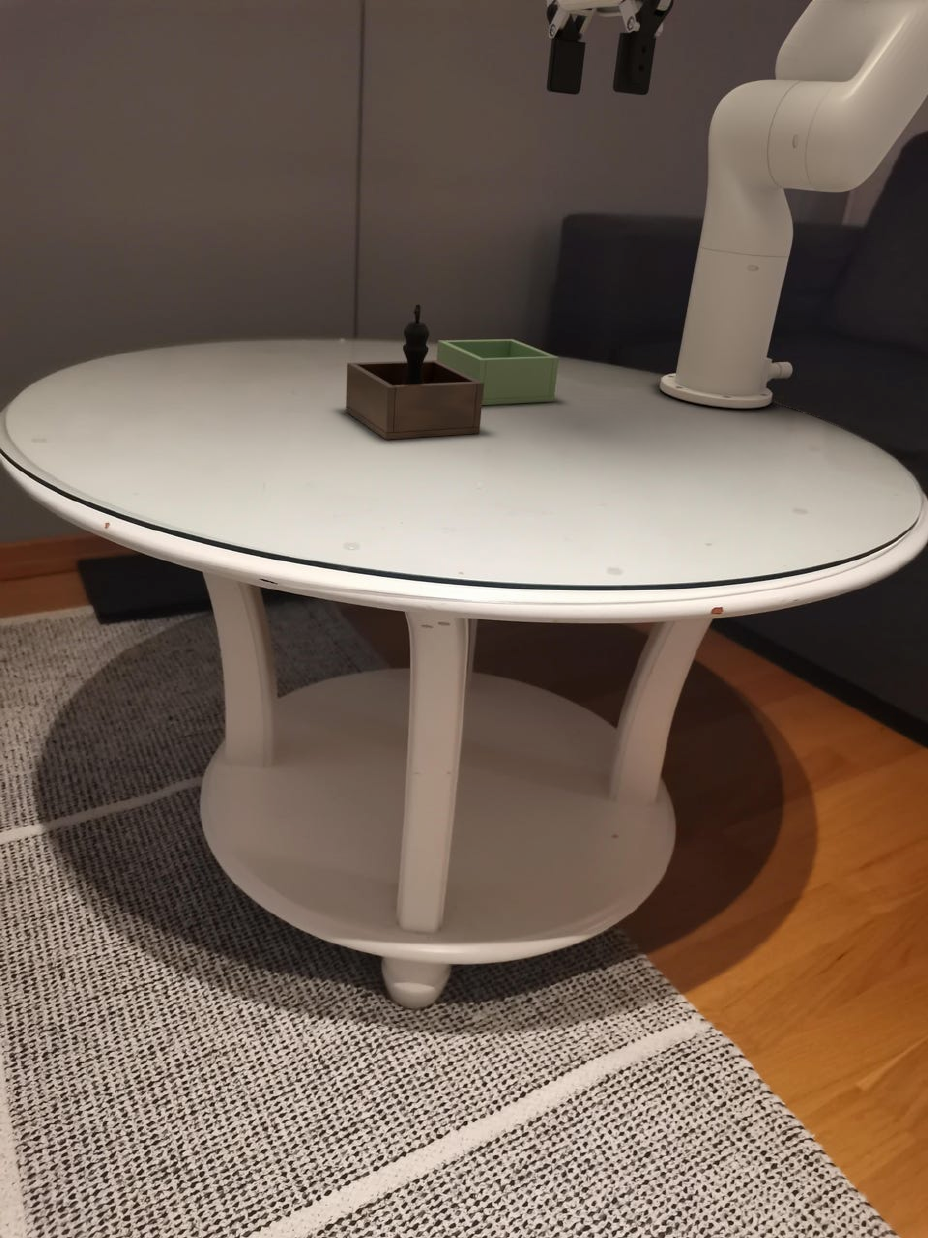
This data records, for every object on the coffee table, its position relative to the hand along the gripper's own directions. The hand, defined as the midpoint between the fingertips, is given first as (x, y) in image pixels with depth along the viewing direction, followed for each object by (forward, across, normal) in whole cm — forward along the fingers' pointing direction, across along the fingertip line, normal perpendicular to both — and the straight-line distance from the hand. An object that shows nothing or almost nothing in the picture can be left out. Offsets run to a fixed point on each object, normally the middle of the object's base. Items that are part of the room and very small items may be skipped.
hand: (595, 92), depth 79 cm
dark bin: (+28, +3, +14) cm, 32 cm away
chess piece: (+28, +3, +14) cm, 31 cm away
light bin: (+28, +12, 0) cm, 31 cm away
